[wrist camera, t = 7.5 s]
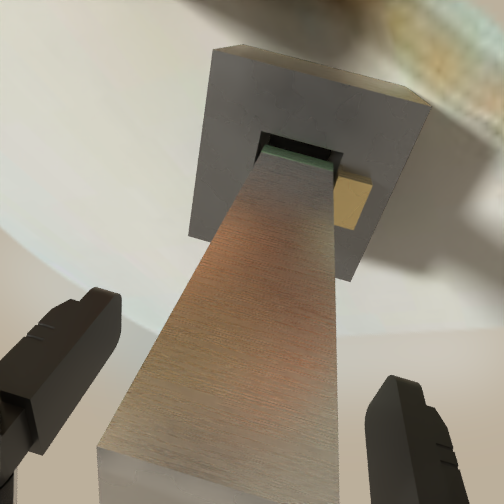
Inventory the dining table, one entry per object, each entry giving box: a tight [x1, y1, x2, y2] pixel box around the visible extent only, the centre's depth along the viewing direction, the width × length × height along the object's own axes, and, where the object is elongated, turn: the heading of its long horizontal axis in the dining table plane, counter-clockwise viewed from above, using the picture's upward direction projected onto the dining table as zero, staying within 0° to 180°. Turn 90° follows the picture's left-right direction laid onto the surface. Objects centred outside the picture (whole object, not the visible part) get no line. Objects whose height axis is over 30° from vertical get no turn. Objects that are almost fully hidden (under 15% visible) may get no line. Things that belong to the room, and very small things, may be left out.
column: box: [97, 144, 339, 504], centre depth 14 cm, size 4×4×18 cm
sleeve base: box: [188, 44, 432, 282], centre depth 25 cm, size 12×12×9 cm
